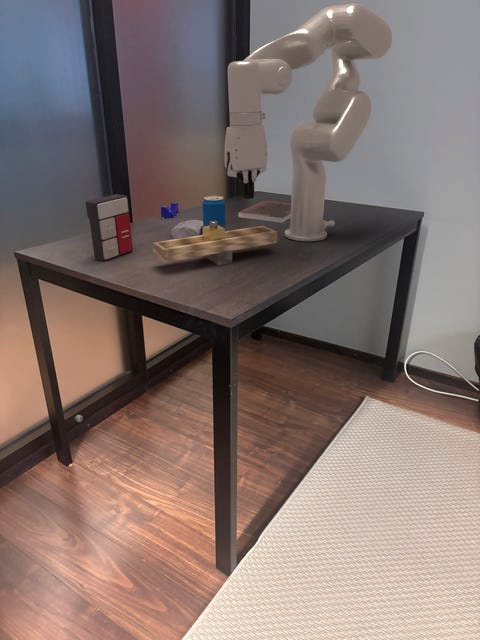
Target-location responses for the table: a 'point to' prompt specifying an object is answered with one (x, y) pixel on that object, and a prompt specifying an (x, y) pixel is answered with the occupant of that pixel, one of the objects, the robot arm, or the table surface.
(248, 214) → the picture frame
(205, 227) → the rider
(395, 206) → the table surface
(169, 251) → the beam
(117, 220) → the drawer cabinet
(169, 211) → the cable holder
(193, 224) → the stone block
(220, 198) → the beverage can
